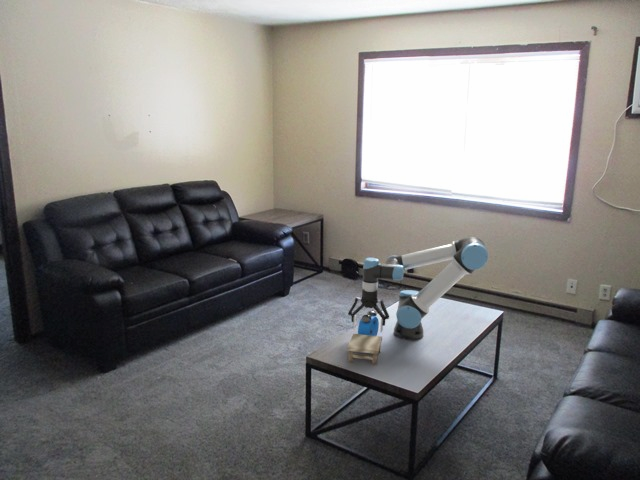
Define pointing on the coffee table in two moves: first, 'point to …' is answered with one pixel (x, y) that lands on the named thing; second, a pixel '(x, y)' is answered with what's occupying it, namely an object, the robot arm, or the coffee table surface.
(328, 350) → the coffee table surface
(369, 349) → the stool
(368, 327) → the alarm clock
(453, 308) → the coffee table surface
